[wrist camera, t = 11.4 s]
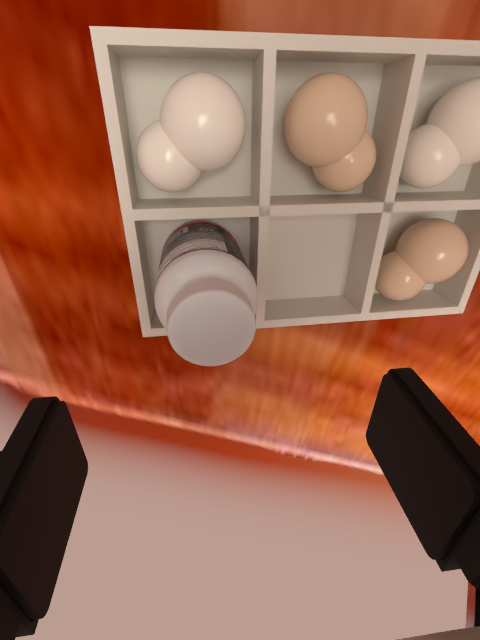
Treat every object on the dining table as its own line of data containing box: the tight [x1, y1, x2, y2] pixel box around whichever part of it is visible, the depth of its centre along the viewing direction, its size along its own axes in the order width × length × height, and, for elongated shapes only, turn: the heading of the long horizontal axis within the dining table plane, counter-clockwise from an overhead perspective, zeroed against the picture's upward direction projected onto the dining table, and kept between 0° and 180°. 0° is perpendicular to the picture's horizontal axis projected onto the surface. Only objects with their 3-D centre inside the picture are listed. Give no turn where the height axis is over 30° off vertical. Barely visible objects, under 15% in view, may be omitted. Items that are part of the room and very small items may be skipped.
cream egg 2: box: [400, 77, 480, 189], centre depth 20 cm, size 6×4×4 cm
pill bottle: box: [154, 220, 258, 366], centre depth 19 cm, size 5×5×10 cm
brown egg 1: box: [284, 72, 376, 192], centre depth 19 cm, size 6×4×4 cm
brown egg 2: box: [375, 218, 469, 300], centre depth 23 cm, size 6×4×4 cm
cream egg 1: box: [136, 72, 246, 192], centre depth 18 cm, size 6×4×4 cm
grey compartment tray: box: [89, 26, 480, 337], centre depth 21 cm, size 23×16×4 cm
